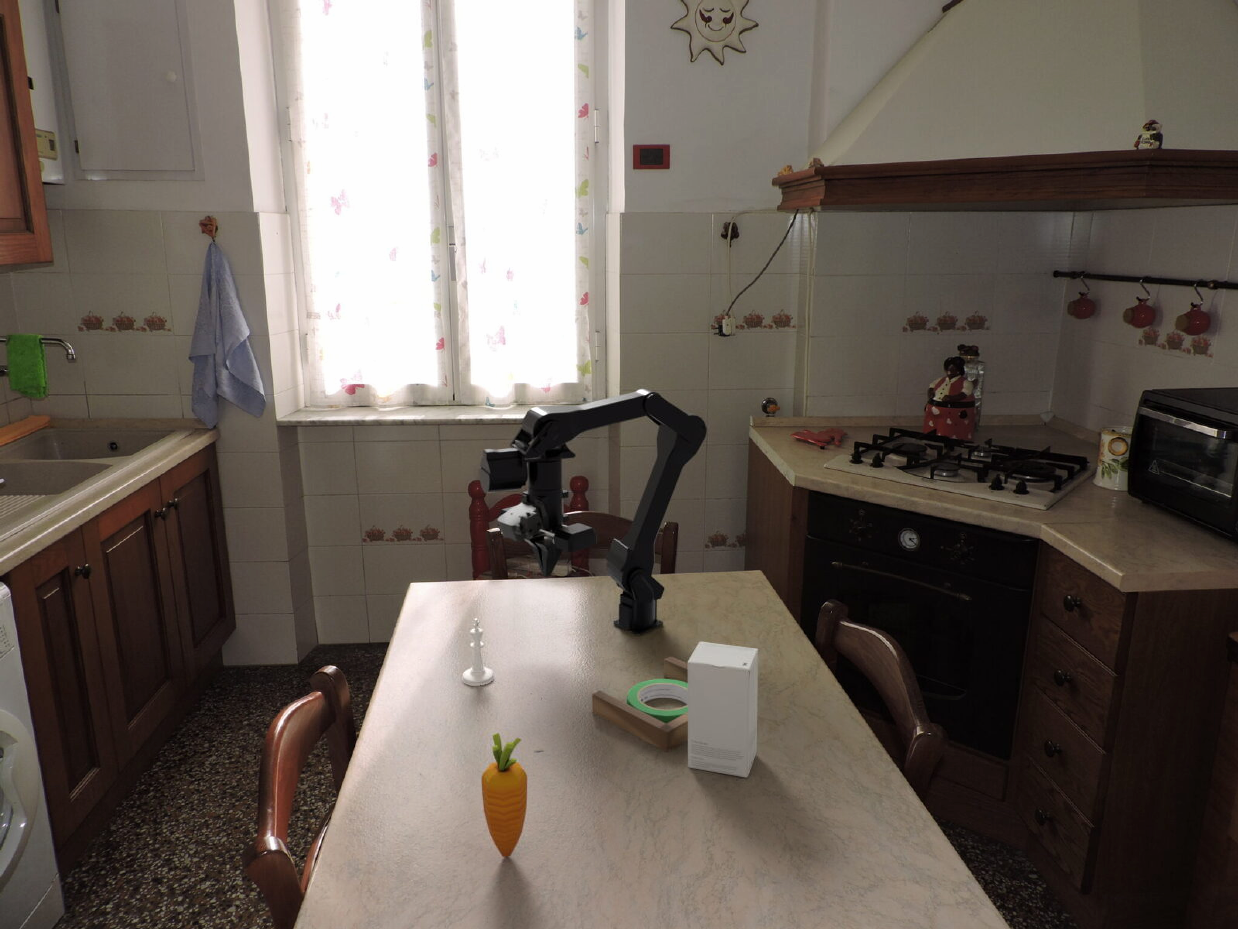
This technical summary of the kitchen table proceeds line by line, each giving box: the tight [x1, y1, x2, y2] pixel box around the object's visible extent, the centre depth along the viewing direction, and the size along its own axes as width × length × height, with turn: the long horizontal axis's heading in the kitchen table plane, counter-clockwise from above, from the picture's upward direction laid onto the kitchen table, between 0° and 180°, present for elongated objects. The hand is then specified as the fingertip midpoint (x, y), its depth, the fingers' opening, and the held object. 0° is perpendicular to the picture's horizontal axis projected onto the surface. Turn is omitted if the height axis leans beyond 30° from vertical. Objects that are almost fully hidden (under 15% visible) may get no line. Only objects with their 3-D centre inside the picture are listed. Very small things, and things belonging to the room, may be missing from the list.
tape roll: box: [626, 678, 688, 724], centre depth 134 cm, size 11×11×3 cm
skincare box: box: [687, 641, 759, 778], centre depth 120 cm, size 8×7×16 cm
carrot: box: [481, 732, 528, 859], centre depth 101 cm, size 5×5×15 cm
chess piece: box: [461, 618, 495, 687], centre depth 142 cm, size 5×5×10 cm
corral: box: [591, 656, 688, 753], centre depth 134 cm, size 17×14×3 cm
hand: (546, 576), depth 152 cm, fingers closed
